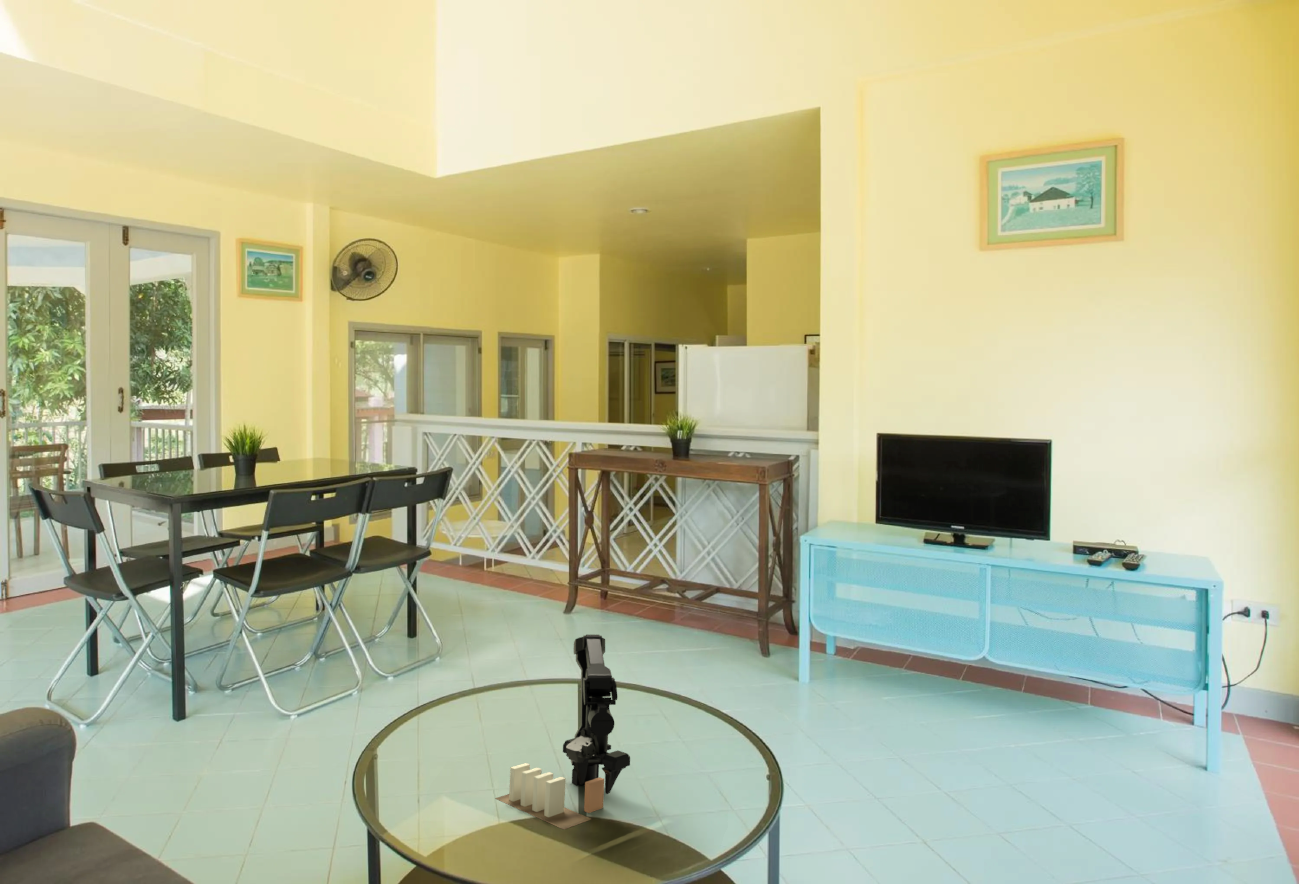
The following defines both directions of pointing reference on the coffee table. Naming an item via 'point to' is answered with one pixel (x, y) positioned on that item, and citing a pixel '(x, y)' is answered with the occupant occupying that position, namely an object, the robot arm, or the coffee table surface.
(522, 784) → the ivory domino
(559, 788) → the ivory domino
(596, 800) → the terracotta domino
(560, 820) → the walnut board
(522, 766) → the ivory domino
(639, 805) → the coffee table surface
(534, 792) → the ivory domino
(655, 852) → the coffee table surface
